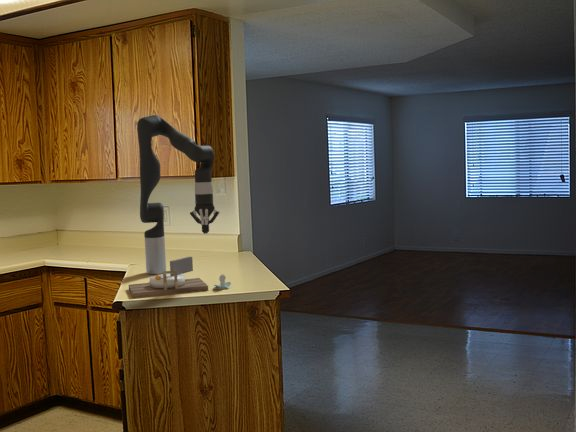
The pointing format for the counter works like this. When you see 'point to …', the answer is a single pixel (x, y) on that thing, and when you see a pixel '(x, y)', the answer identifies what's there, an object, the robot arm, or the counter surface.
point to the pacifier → (222, 283)
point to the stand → (189, 286)
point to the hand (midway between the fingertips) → (205, 233)
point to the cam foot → (179, 265)
